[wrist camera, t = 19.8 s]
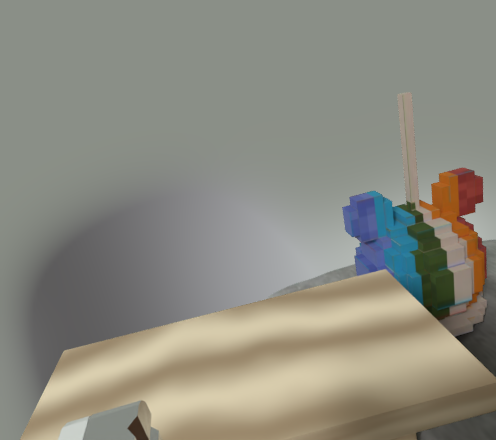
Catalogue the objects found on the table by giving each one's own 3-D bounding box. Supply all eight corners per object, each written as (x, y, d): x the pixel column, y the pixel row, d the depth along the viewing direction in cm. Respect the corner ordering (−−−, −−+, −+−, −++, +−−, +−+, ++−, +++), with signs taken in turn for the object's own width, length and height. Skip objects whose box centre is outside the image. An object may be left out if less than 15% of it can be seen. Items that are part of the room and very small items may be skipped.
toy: (445, 271, 65) (435, 78, 55) (522, 323, 51) (527, 74, 41) (341, 300, 64) (311, 107, 54) (389, 363, 49) (360, 115, 39)
